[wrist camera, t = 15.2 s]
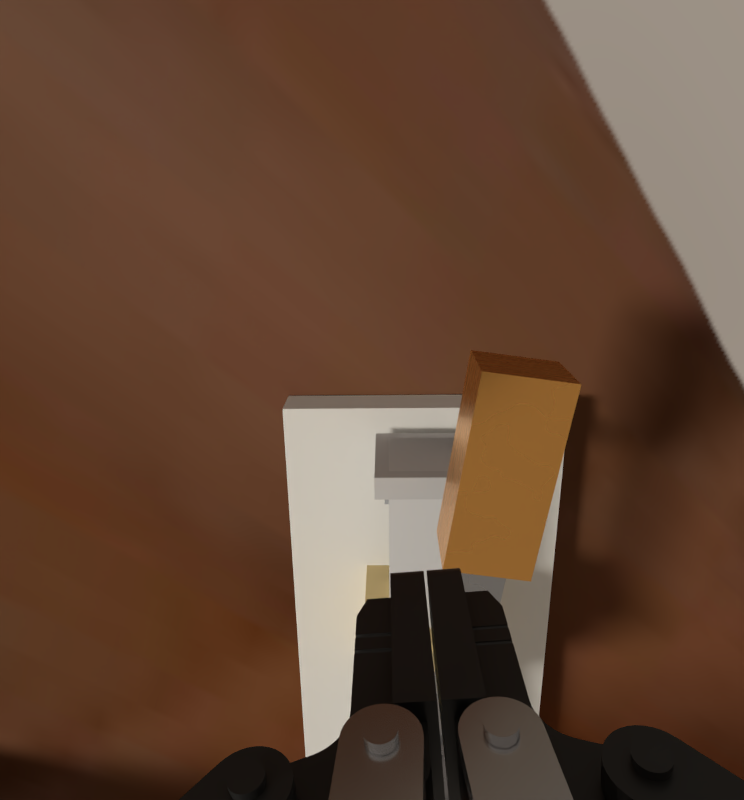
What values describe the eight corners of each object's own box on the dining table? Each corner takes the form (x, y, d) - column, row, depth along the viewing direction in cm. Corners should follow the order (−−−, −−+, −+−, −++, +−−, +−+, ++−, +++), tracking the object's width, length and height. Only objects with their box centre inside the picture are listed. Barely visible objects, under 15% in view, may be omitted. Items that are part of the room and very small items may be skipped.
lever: (390, 761, 27) (391, 817, 24) (467, 349, 20) (478, 370, 18) (463, 769, 27) (470, 826, 24) (561, 362, 21) (584, 384, 18)
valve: (526, 745, 40) (571, 925, 30) (310, 744, 40) (286, 921, 30) (557, 393, 32) (633, 484, 22) (288, 395, 32) (246, 485, 22)
